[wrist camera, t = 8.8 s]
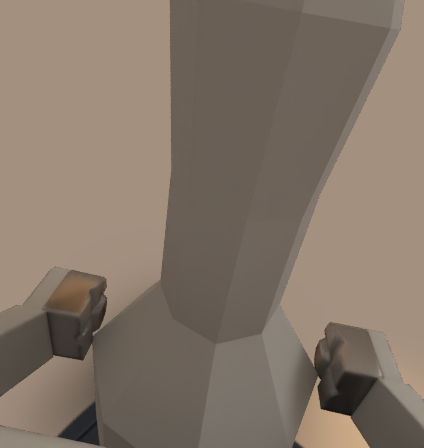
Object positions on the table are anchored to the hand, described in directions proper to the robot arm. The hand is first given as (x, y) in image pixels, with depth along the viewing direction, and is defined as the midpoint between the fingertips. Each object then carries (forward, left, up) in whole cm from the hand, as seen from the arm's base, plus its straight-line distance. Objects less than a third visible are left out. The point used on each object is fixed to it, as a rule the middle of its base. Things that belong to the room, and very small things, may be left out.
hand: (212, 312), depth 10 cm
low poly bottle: (0, -1, -12) cm, 12 cm away
